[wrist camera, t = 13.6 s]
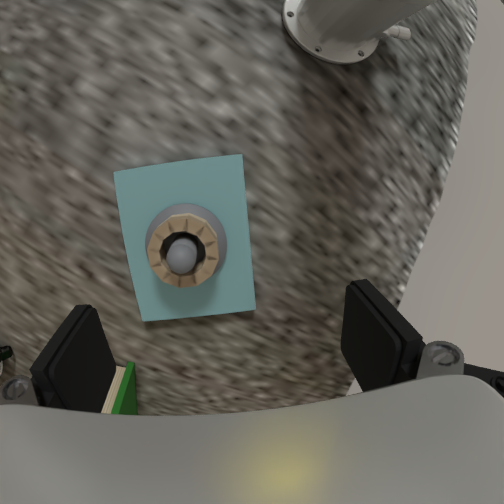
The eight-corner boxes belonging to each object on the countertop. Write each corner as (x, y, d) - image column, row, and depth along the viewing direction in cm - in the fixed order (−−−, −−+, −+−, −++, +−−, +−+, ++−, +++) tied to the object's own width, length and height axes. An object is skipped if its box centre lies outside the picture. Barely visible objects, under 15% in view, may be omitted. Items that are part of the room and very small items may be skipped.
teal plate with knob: (240, 154, 32) (248, 152, 25) (254, 303, 38) (264, 338, 30) (117, 171, 31) (91, 175, 23) (145, 315, 36) (131, 351, 29)
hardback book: (86, 352, 37) (24, 486, 14) (134, 362, 38) (94, 511, 16) (100, 427, 42) (71, 538, 19) (139, 435, 43) (123, 552, 20)
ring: (213, 209, 31) (213, 214, 29) (221, 272, 34) (221, 283, 31) (148, 218, 31) (142, 224, 28) (159, 279, 33) (155, 290, 30)
